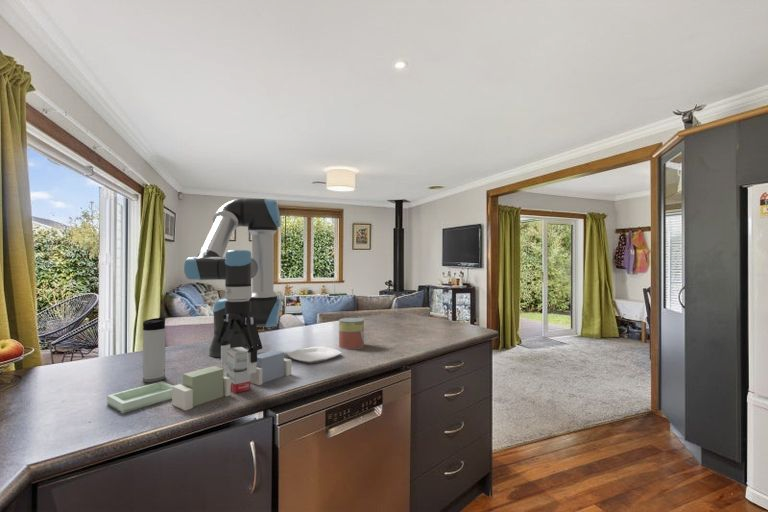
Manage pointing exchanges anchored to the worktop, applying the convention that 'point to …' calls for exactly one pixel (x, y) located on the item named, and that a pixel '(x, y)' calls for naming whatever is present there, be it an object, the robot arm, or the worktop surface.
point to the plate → (314, 354)
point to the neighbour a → (205, 384)
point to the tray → (140, 397)
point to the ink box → (238, 369)
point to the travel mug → (154, 349)
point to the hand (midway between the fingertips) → (238, 369)
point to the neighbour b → (271, 365)
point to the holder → (184, 395)
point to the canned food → (351, 333)
